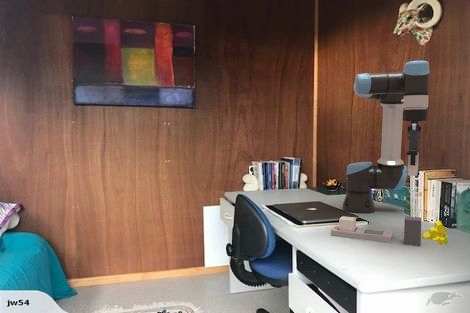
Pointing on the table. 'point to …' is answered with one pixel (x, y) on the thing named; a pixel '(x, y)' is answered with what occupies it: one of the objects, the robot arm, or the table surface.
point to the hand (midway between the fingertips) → (413, 173)
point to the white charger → (347, 224)
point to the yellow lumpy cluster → (437, 233)
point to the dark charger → (412, 231)
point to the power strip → (364, 234)
